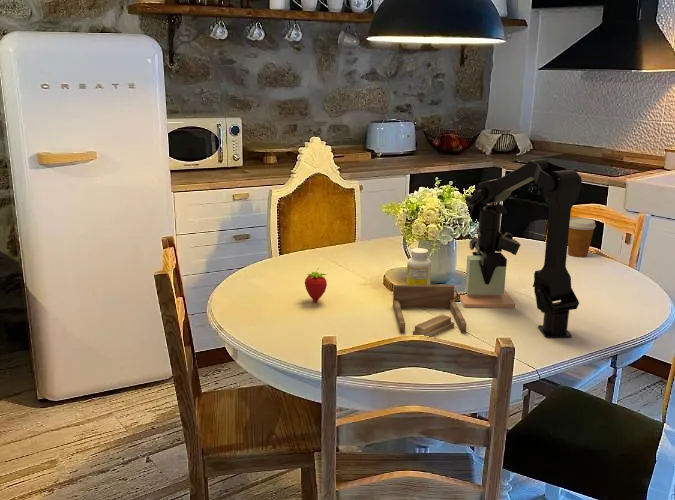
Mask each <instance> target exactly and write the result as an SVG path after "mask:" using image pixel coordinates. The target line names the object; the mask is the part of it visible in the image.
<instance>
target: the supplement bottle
mask: <svg viewBox="0 0 675 500" xmlns="http://www.w3.org/2000/svg"><path fill="white" fill-rule="evenodd" d="M410 254H411V257H410V258H408V259H407V265H406V266H407V268H406V285H431V275H432V272H431V271H432V270H431V269H432V261H431V259H429V258H428V256H429V250H428V249H426V248H420V247H417V248H412V249H411V250H410Z"/></svg>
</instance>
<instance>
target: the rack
mask: <svg viewBox="0 0 675 500" xmlns="http://www.w3.org/2000/svg"><path fill="white" fill-rule="evenodd" d="M455 287H456V286H455V285H454V284H430V285H407V284H393V292H392V294H393V295H392V307H393V312H394V315H395V319H396V323H397V327H398V331H399V333H403V334H404V333H406V321H405V317H404V314H403V312H402V308H403V309H404V308H405V309H406V308H409V309H410V308H411V309H412V308H419V309H421V308H424V309H425V308H431V309H432V308H434V309H435V308H437V309H439V308H448V309H449V311H450V313H451V315H452V317H453V319H454V321H455V323H456V325H457V327H458V329H459V331H460V333H461V334H463V333H467V322H466V319H465V318H464V316H463V313H462V312H461V310H460V308H459V306H458V304H457V302H456V300H455V290H454V288H455Z"/></svg>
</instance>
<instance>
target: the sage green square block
mask: <svg viewBox="0 0 675 500" xmlns="http://www.w3.org/2000/svg"><path fill="white" fill-rule="evenodd" d="M480 259H481V256H473V255H467V256H466V269H465V271H466V272H465V284H464V287H465V290H466V292H467V294H504V289H505V285H506V273H507V265H506V266H505V267H496V268H495V270H494V273H493V275H492V278H491V280H490V283H489V284H485V282H484V279H483V276H482V272H481V269H480V266H479V262H478V261H481V260H480Z"/></svg>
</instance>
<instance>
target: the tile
mask: <svg viewBox="0 0 675 500" xmlns="http://www.w3.org/2000/svg"><path fill="white" fill-rule="evenodd" d="M459 301H460V303H461V305H462V307H463V308H475V309H476V308H479V309H480V308H481V309H482V308H483V309H484V308H489V309H490V308H491V309H493V308H498V309H500V308H504V309H505V308H509V309H511V308H516V306H517V304H516V302H515V300H513V298H512V297H511V295H510V294H509V292H507V290H506V289H505V288H504V294H465V295H460V299H459Z"/></svg>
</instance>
